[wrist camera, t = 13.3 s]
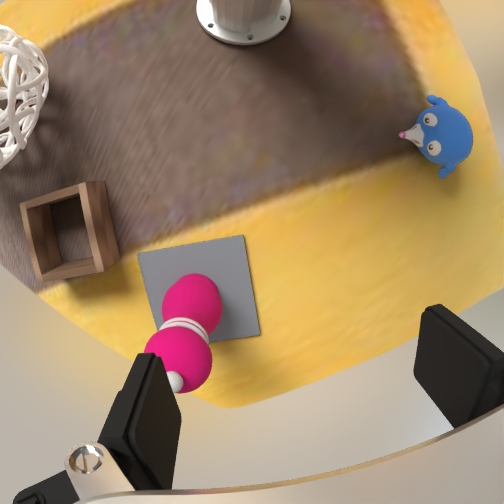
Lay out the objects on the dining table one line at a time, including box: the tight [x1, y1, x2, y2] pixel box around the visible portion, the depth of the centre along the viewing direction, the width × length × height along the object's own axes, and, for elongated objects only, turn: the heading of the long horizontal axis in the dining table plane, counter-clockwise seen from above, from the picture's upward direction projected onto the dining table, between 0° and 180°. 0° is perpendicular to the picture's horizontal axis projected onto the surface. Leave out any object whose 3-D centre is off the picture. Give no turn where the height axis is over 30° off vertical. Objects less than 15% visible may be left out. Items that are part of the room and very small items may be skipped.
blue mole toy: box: [399, 95, 473, 179], centre depth 34 cm, size 12×12×8 cm
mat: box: [137, 235, 260, 343], centre depth 41 cm, size 14×14×1 cm
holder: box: [19, 181, 121, 283], centre depth 36 cm, size 11×11×6 cm
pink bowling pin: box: [144, 273, 222, 393], centre depth 31 cm, size 7×7×20 cm
